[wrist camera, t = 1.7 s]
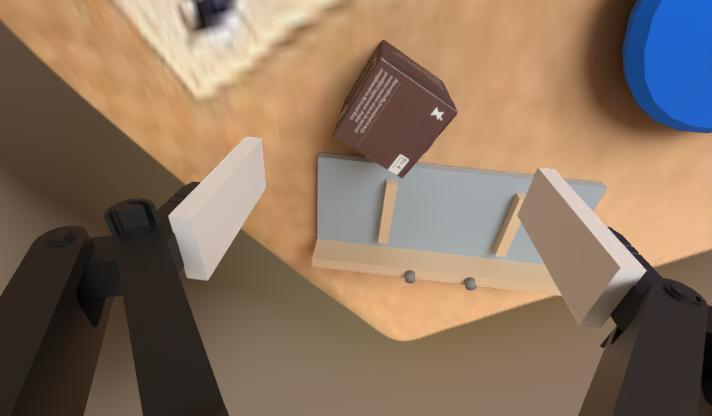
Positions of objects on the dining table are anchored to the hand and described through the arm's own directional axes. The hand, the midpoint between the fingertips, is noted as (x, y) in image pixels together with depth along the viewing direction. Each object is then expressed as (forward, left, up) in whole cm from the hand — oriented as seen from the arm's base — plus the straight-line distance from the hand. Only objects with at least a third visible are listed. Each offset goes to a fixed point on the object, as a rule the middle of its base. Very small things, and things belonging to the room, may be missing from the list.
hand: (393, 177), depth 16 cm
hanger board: (+11, +7, -14) cm, 19 cm away
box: (0, 0, -14) cm, 14 cm away
